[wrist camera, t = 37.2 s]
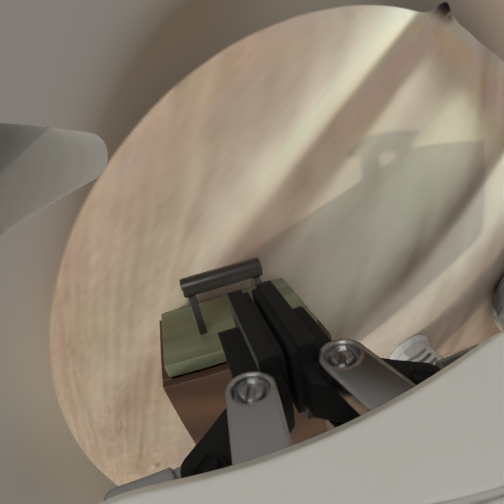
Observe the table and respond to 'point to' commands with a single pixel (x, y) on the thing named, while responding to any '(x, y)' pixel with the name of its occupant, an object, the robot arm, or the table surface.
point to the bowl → (499, 306)
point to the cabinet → (219, 400)
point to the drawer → (209, 317)
